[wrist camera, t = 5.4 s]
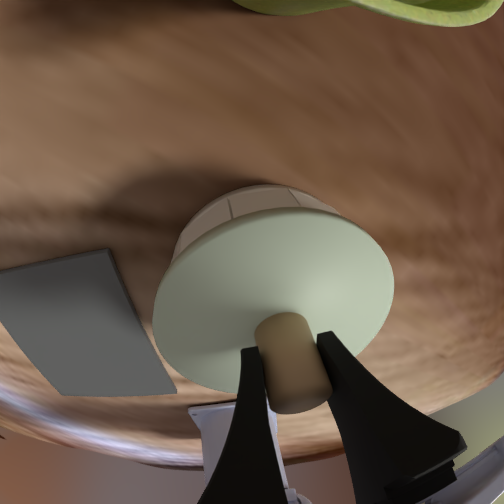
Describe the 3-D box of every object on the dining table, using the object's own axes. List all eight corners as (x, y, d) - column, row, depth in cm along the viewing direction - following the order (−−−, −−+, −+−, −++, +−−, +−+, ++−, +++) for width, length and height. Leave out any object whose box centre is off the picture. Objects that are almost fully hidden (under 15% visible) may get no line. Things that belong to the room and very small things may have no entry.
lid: (358, 363, 17) (383, 418, 13) (182, 390, 16) (184, 456, 12) (409, 200, 11) (477, 258, 7) (124, 223, 10) (88, 311, 6)
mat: (176, 389, 22) (176, 393, 22) (62, 392, 21) (61, 395, 21) (108, 248, 14) (107, 252, 14) (-23, 276, 13) (-26, 279, 13)
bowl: (338, 314, 20) (358, 353, 17) (193, 341, 19) (195, 385, 16) (351, 173, 14) (388, 201, 11) (150, 201, 13) (135, 239, 10)
